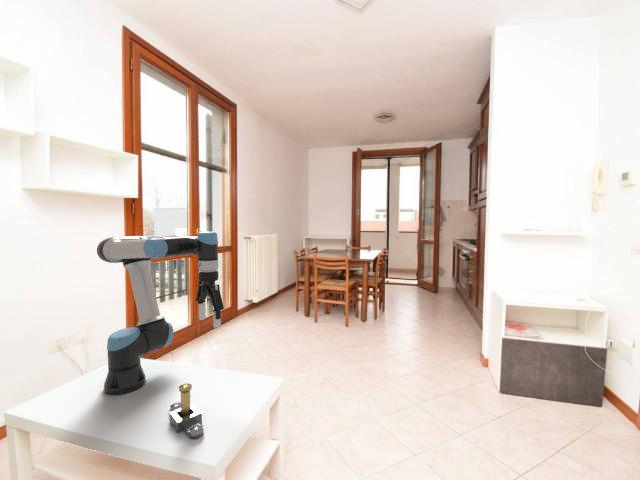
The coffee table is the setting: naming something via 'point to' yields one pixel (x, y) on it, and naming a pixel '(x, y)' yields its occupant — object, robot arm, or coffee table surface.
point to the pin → (185, 399)
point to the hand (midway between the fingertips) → (209, 322)
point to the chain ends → (186, 421)
